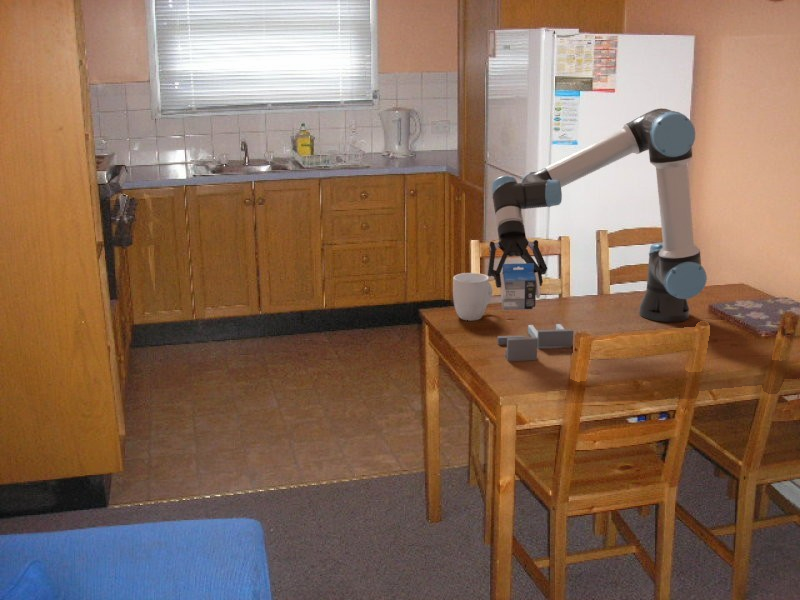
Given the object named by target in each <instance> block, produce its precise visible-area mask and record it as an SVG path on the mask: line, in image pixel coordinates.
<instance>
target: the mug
mask: <svg viewBox="0 0 800 600" xmlns="http://www.w3.org/2000/svg"><path fill="white" fill-rule="evenodd" d="M489 277H490V276H488V274H487V275H486V274H484V273H478V272H462V273H458V274H455V275H454V276H453V278H452V279H453V283H452V298H453V306H454V309H455V312H456V314H457V315H458V318H459V319H460V320H463V321H467V320H468V322H469V321H472V322H473V321H479V320H480V319H482V317H483V315H484V314H485V311H486V309H487V306H488V304H489V303H490V301H491V300H492V297H493V287H492V284H491V283H490V281H489V280H490V278H489Z"/></svg>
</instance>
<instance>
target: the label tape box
mask: <svg viewBox="0 0 800 600" xmlns="http://www.w3.org/2000/svg"><path fill="white" fill-rule="evenodd" d="M517 268H520V269H517ZM521 268H522V269H521ZM501 274H503V278H504V285H505V292H506V296H505V299H503V300H502V299H501V307H502V309H503V311H513V310H514V311H516V310H517V311H518V310H522V311H523V310H536V300H537V298H536V278H535V274H534V263H526V262H525V263H504V264H503V268H502V273H501Z"/></svg>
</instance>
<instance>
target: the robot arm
mask: <svg viewBox="0 0 800 600" xmlns="http://www.w3.org/2000/svg"><path fill="white" fill-rule="evenodd" d="M695 141H696V130H695V127H694V124H693V122H692V121H691V119H690V118H688V117H687V115H685V114H683V113H681V112H679V111H674V110H671V109H667V108H656V109H653V110H650V111H648V112H646V113H644V114H642V115H640V116H639V117H636V118H635V119H633V120H631V121H629V122H626V123H625V124H624V125H623V127H622V128H621V129H620V130H618V131H617V132H614V133H613V134H611V135H609V136H606V137H604V138H602V139H600V140H598V141H597V142H594V143H592V144H590V145H588V146H586V147H584V148H582V149H580V150H578V151H576V152H574V153H571V155H568V156H566V157H564V158H562V159H560V160H558V161H556V162H554V163H552V164H550V165H548V166H545V167H544V168H542V169H540V170H538V171H530V172H527V173H526V174H525V175H524V176H523V177H522V178H521V181H520V182H518V181H517V179H516V177H513V176H509V175H502V176H498V177H497V178H495V179H494V180H493V181H492V184H491V193H492V194H491V195H492V202H493V207H494V208H493V209H494V213H495V220H496V227H497V236H498V241H497V242H494V241H490V242H489V246H488V250H489V260H488V261H489V262H488V270H487V276H488V277H493V279H494V281H495V286H496V288H499V290H500V297H501V301H502V300H503V299H505V296H506V292H505V285H504V278H503V274H502V273H501V272H502V271H503V264H506V260H507V259H508V257H520V258H521V259H522V260H524V262H525V263H534V274H535V278H536V299H540V297H541V295H542V290H541V286H542V285H543V281H544V280H543V276H542V275H546V274H547V271H548V266H547V264H546V261H545V260H544V257H543V254H542V253H541V250H540V248H539V241H538V240H536V239H535V240H534V241H529V240H528V239H527V236H526V229H525V224H524V218H523V212H522V210H526V209H527V210H528V209H539V208H546V207H547V208H551V207H554V206H556V207H557V206H560V204H561V203H562V198H563V195H562V194H563V193H562V188H563V187H565V186H567V185H569V184H571V183H573V182H575V181H578V180H579V179H581V178H583V177H586V176H588V175H590V174H592V173H594V172H596V171H598V170H600V169H602V168H605V167H607V166H609V165H610V164H613V163H614V162H617V161H619V160H622V159H623V158H625V157H627V156H630V155H631V154H636V155H639V154H642V153H644V152H646V151H648V156H649V157H648V158H649V163H650V164H652V165H653V166H654V167H655V172H656V184H657V193H658V205H659V213H660V214H659V216H660V223H661V225H660V226H661V227H660V228H661V235H662V242H655V243H652V244H651V245H650V247H649V252H648V264H647V265H648V268H647V279H646V280H647V282H646V290H645V292H644V295H643V297H642V299H641V302H640V304H639V309H638V314H639V315H640V317H643V318H644V319H647V320H650V321H655V322H664V323H674V322H675V323H676V322H679V323H680V322H683V321H687V320H688V319H689V318H690V307H689V303H688V300H689V299H692V298H695V297H696V296H698V295H699V294H700V293H701V292H702V291H703V290H704V289H705V286H706V284H707V279H708V278H707V277H708V276H707V272H706V270H705V268H704V267H703V266H702V260H701V249H700V248H699V247H698V246H697V245H696V244H695V241H694V240H695V239H694V228H693V217H692V216H693V215H692V207H691V206H692V205H691V203H692V202H691V193H690V181H689V180H690V179H689V169H688V168H689V167H688V163H689V162H690V161H691V160H692V158H693V148H692V146H693V145H694V144H695ZM528 247H529V249H530V251H532V254H533V256H534V258H533V256H532V255H531V254H530V253H529V251H528V249H527V248H528ZM498 248H499V250H501V251H502V252H503V254H502V255H501V258H500V260H499V263H498V265H497V267H496V270H495V268H494V267H495V260H496V259H495V257H496V252H497V250H498ZM534 259H535V260H534Z"/></svg>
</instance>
